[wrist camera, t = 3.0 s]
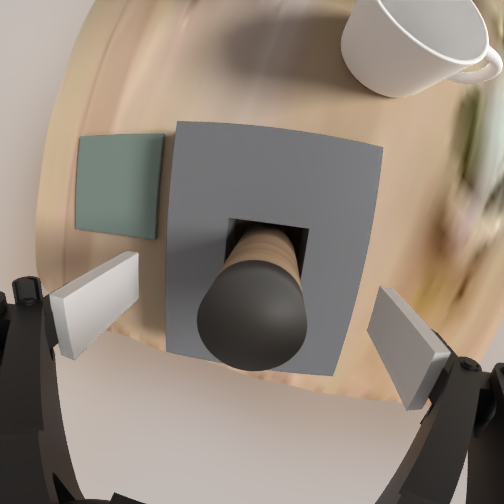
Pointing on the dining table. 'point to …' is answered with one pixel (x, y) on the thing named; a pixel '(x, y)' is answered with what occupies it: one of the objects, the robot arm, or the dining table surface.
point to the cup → (416, 45)
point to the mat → (119, 184)
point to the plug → (255, 303)
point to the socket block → (269, 211)
